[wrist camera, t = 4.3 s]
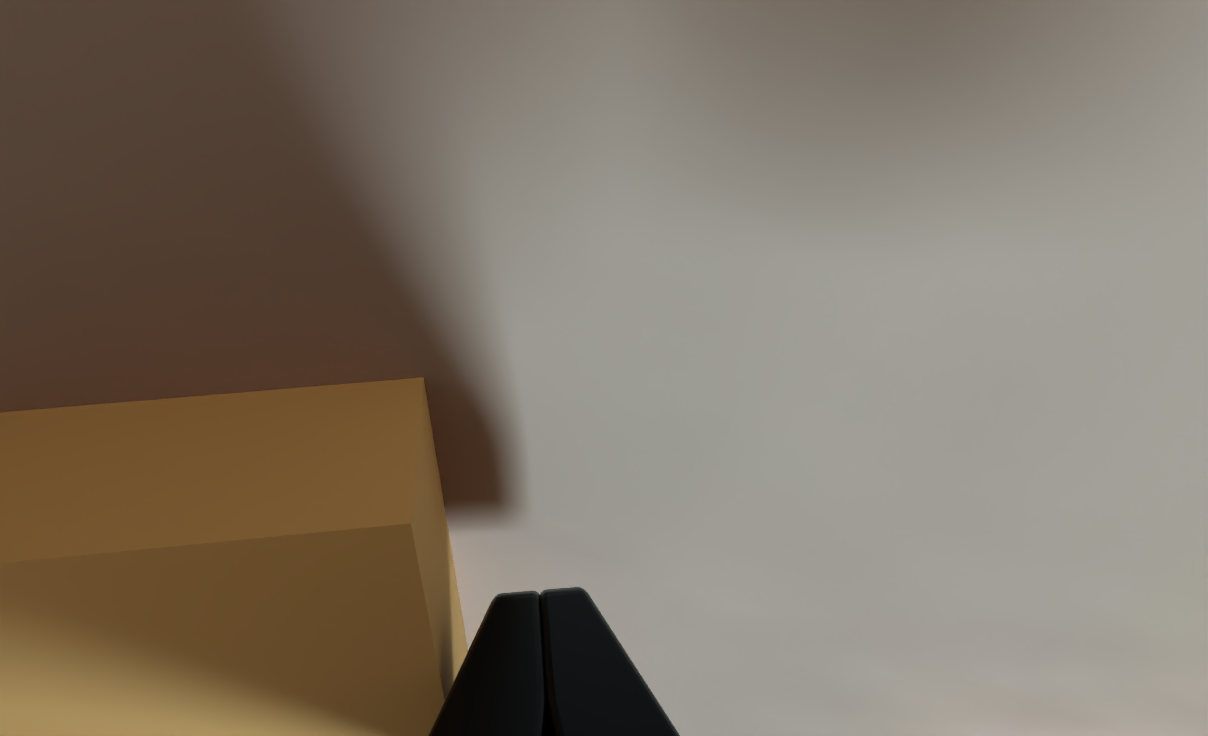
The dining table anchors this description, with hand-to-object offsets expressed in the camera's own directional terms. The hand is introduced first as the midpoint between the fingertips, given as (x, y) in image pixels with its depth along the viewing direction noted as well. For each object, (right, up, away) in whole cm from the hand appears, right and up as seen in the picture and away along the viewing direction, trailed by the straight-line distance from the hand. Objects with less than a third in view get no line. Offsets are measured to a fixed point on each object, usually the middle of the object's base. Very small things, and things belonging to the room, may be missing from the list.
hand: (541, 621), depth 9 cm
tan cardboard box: (-3, 0, +1) cm, 3 cm away
